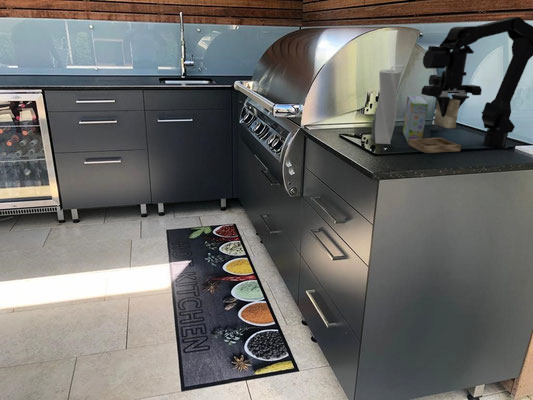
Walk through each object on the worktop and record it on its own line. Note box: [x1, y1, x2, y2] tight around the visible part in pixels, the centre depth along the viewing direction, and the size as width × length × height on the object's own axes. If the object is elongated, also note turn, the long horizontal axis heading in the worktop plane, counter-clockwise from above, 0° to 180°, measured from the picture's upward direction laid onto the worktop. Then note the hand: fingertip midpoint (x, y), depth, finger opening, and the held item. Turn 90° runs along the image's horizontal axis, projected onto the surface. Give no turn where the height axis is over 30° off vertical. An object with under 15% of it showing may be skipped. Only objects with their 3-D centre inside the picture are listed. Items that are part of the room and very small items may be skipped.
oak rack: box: [407, 137, 462, 154], centre depth 150 cm, size 13×11×3 cm
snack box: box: [402, 95, 429, 143], centre depth 163 cm, size 21×6×15 cm, turn 168°
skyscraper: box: [370, 64, 405, 145], centre depth 153 cm, size 8×8×28 cm
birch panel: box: [433, 97, 460, 129], centre depth 146 cm, size 3×8×9 cm, turn 12°
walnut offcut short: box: [418, 140, 434, 146], centre depth 148 cm, size 3×5×1 cm, turn 18°
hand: (447, 116), depth 146 cm, fingers closed on birch panel, 3 cm apart
